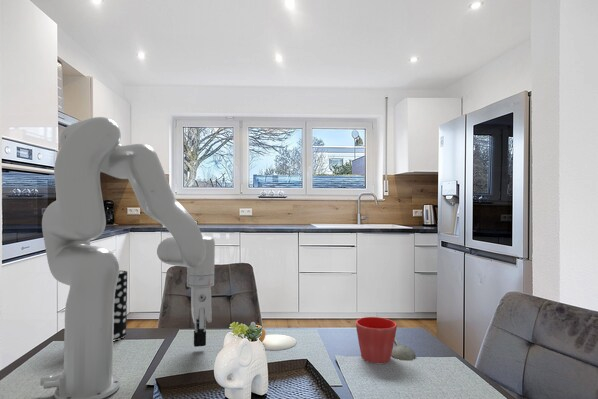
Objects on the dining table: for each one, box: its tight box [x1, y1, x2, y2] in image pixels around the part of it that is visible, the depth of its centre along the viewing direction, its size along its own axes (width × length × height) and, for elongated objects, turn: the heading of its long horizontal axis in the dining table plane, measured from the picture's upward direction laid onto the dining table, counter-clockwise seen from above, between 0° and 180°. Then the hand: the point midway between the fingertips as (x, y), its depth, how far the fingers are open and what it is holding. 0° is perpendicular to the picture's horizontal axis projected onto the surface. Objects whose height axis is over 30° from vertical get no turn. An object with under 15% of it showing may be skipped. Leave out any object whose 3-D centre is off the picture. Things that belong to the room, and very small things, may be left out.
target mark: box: [262, 334, 297, 351], centre depth 115 cm, size 13×13×1 cm
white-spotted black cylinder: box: [113, 270, 128, 339], centre depth 118 cm, size 8×8×20 cm
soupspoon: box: [391, 337, 416, 361], centre depth 113 cm, size 22×3×7 cm
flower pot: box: [355, 316, 398, 364], centre depth 104 cm, size 11×11×10 cm
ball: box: [255, 324, 267, 342], centre depth 114 cm, size 6×6×6 cm
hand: (199, 345), depth 108 cm, fingers closed
